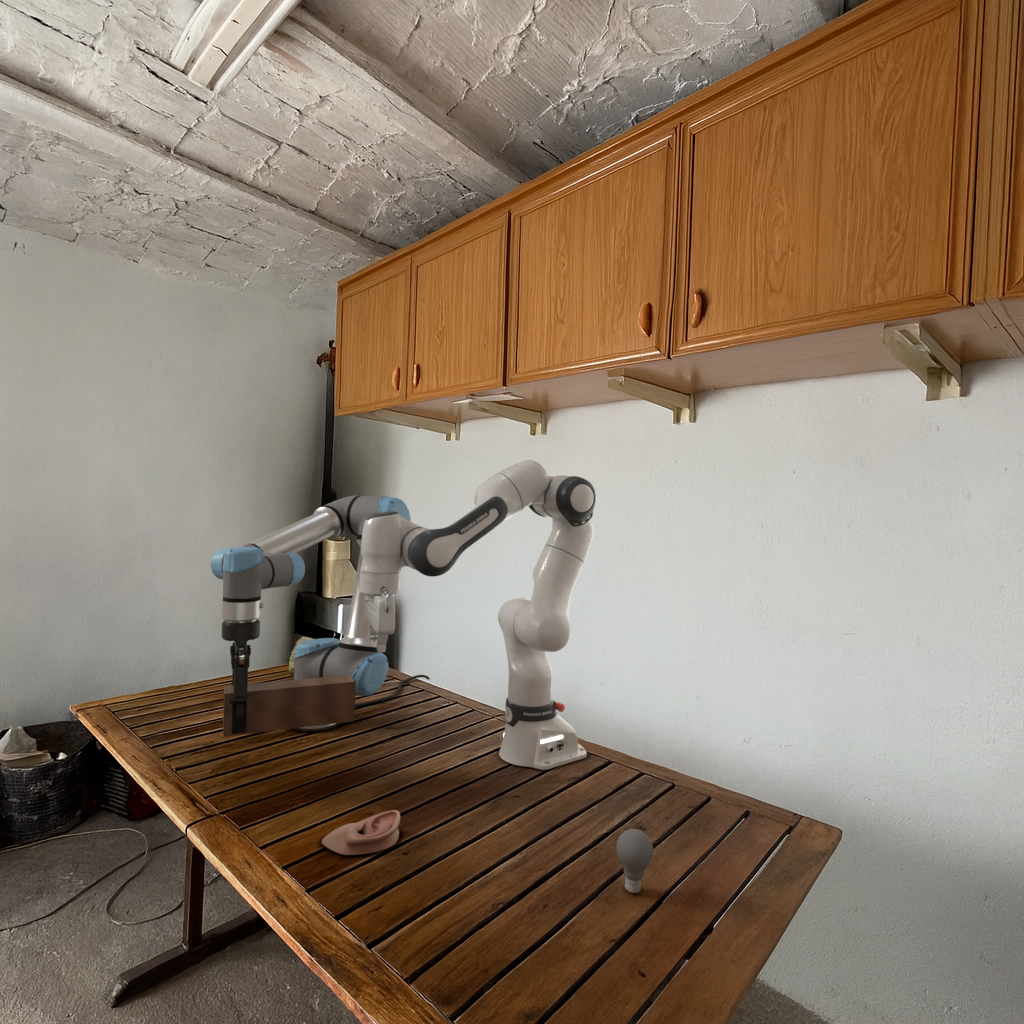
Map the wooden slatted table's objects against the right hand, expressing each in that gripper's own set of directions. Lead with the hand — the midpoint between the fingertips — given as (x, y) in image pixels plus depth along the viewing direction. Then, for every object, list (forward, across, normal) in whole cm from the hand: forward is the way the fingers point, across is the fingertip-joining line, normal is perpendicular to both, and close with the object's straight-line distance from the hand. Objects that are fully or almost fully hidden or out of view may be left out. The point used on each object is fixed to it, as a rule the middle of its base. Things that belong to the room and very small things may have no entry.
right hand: (377, 646), depth 141 cm
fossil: (+31, +82, +6) cm, 87 cm away
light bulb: (+30, -52, -35) cm, 70 cm away
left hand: (+17, +5, +28) cm, 33 cm away
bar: (+18, +6, +17) cm, 26 cm away
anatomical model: (+31, -23, +6) cm, 39 cm away
